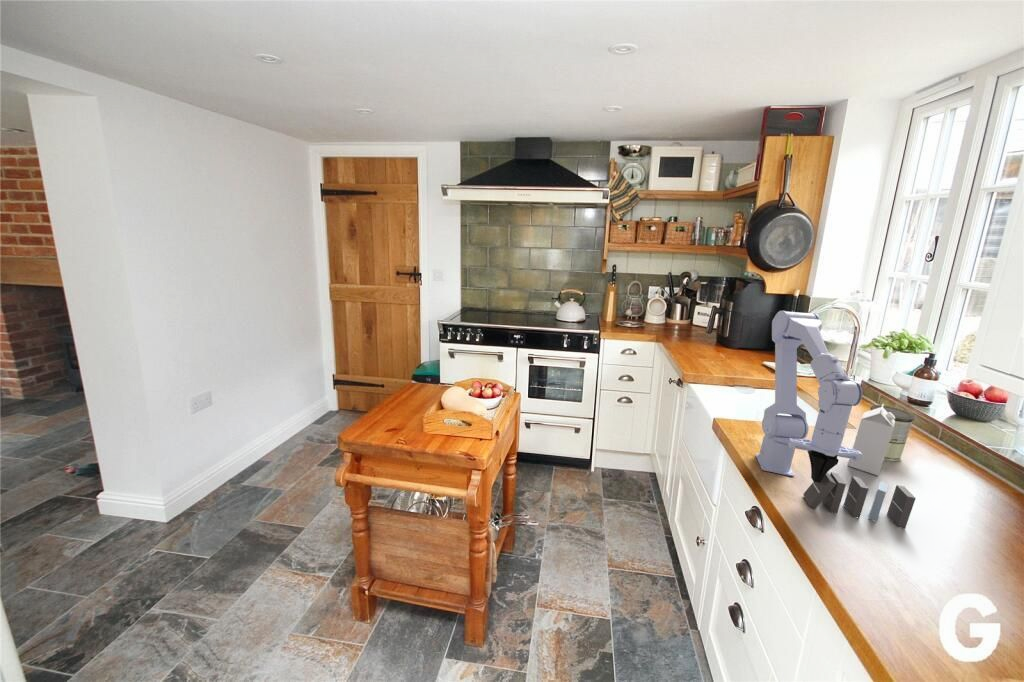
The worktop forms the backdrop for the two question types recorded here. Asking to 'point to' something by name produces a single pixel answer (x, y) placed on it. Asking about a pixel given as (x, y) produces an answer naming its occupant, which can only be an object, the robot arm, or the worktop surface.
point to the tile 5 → (901, 506)
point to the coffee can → (897, 432)
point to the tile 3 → (856, 496)
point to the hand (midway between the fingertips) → (815, 480)
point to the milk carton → (873, 440)
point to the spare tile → (878, 501)
